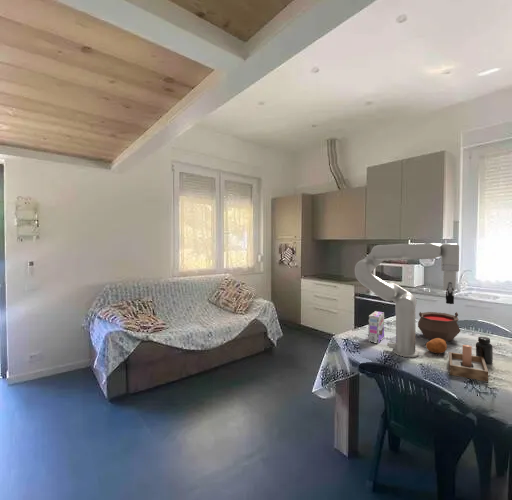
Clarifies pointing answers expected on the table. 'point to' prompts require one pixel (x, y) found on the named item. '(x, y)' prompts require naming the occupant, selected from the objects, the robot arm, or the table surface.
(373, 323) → the candy box
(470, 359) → the peg
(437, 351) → the potato
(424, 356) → the table surface
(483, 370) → the wooden rectangular frame
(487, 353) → the supplement bottle
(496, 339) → the table surface
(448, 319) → the brown cooking pot
